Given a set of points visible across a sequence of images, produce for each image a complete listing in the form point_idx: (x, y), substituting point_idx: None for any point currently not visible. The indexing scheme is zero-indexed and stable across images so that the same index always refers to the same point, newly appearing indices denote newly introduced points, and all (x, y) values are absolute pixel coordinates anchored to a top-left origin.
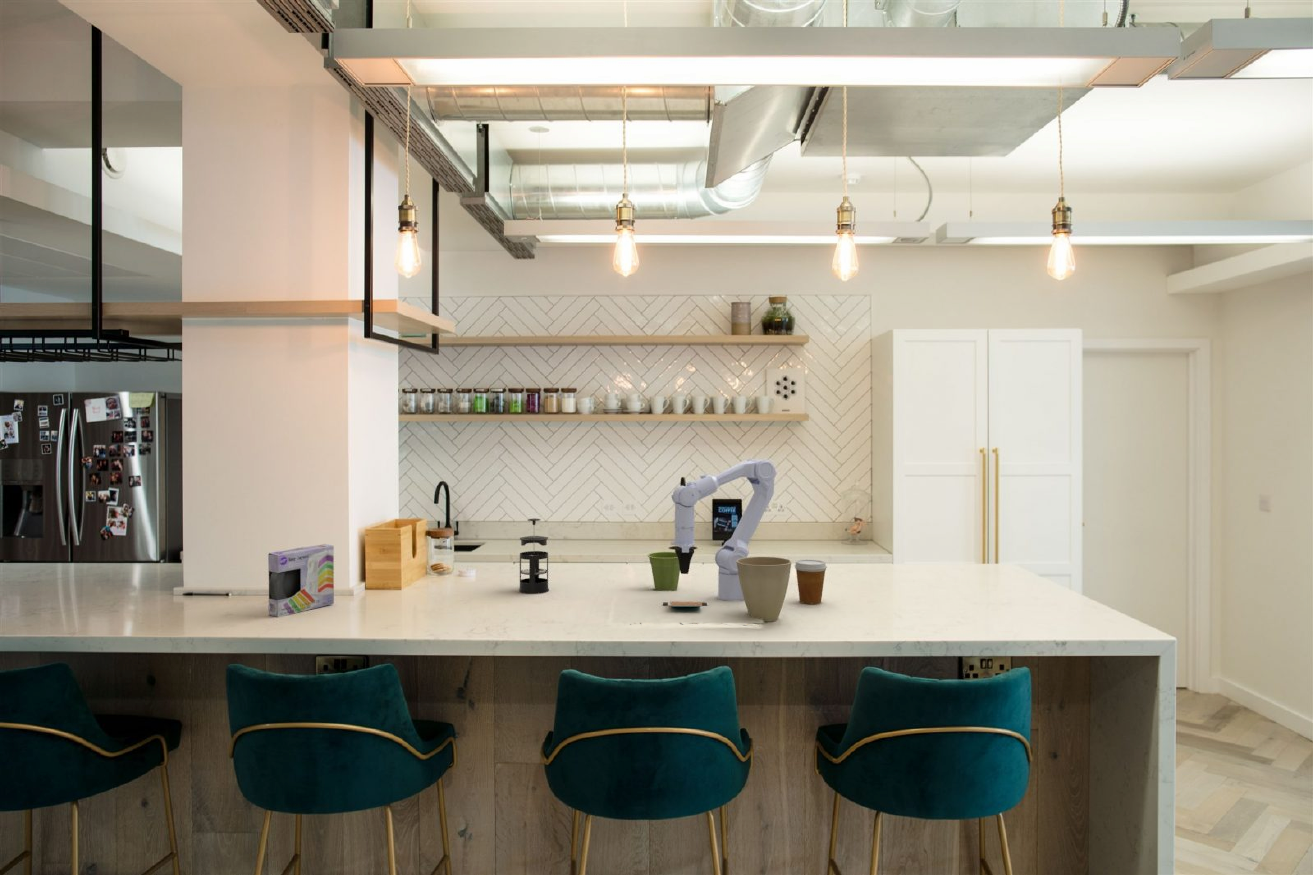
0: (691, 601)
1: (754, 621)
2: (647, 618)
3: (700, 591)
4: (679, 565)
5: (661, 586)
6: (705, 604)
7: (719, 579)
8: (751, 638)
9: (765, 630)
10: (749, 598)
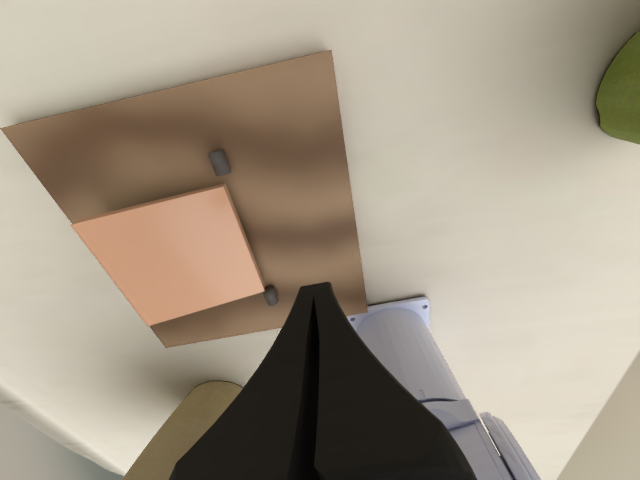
0: (199, 279)
1: (189, 387)
2: (29, 110)
3: (558, 234)
4: (284, 326)
5: (636, 56)
6: (266, 299)
7: (396, 376)
8: (36, 396)
9: (122, 407)
10: (144, 449)
